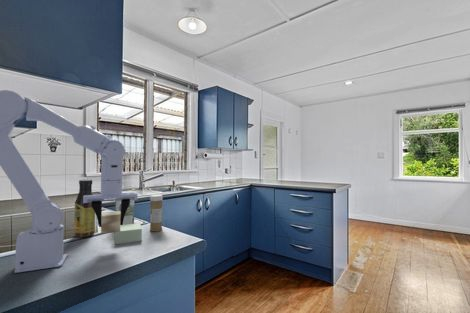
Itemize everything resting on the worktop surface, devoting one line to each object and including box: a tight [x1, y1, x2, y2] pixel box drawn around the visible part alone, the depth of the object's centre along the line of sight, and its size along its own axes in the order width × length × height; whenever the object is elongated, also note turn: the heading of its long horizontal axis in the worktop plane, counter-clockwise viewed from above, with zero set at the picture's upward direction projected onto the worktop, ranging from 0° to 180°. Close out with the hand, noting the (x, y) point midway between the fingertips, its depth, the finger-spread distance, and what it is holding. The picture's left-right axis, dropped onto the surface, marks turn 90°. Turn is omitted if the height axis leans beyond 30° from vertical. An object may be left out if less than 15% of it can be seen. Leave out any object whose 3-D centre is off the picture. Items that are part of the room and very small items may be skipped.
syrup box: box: [114, 190, 135, 225], centre depth 98 cm, size 6×6×14 cm
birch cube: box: [100, 210, 120, 234], centre depth 75 cm, size 5×5×5 cm
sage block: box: [114, 222, 143, 245], centre depth 85 cm, size 8×8×4 cm
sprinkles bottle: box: [149, 194, 164, 232], centre depth 96 cm, size 5×5×14 cm
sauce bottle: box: [73, 178, 96, 238], centre depth 89 cm, size 7×6×20 cm
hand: (111, 225), depth 75 cm, fingers closed on birch cube, 5 cm apart
